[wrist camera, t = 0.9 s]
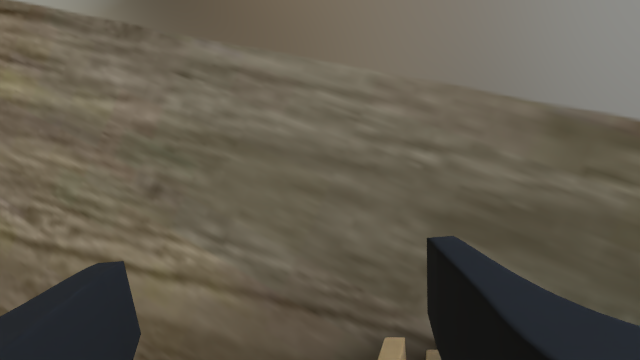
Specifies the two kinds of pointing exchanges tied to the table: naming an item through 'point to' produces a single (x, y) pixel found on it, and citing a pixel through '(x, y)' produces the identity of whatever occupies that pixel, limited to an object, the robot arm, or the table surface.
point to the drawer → (401, 350)
